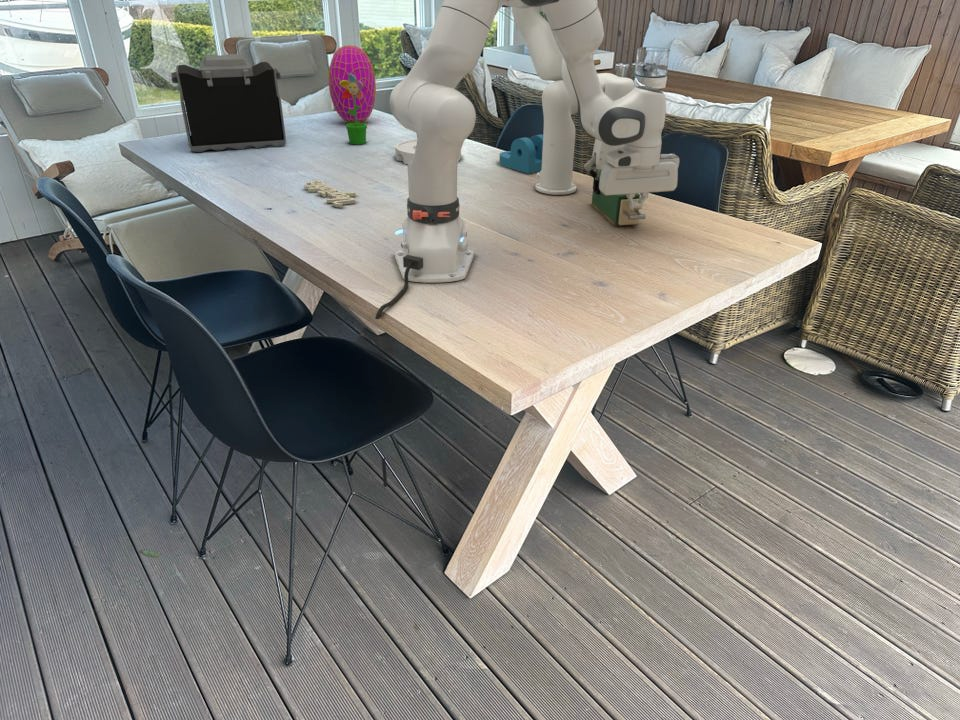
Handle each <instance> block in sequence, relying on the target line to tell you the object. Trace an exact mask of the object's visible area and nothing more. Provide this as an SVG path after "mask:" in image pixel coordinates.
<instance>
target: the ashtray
mask: <svg viewBox="0 0 960 720" xmlns="http://www.w3.org/2000/svg"><path fill="white" fill-rule="evenodd" d="M416 145H417V138H416V139H415V138H414V139H408V140H404V141H399V142H398V143H396V144H395V146H394V150H395V151H394V152H395V153H394V154H395V160H396V161H397V162H403V164H404V165H408V164H409V162H410V160H411V159H412V158H413V157H414V154H415V150H416ZM461 158H462V151H461V152H460V155H459V160H458V162H459V161H460V160H462V159H461Z"/></svg>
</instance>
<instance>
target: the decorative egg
mask: <svg viewBox="0 0 960 720" xmlns="http://www.w3.org/2000/svg"><path fill="white" fill-rule="evenodd" d="M348 73H350V74H352V75H354V76H355V78H356V83H357V82H358V81H361V82H362V84H363V89H361V90H360V91H361V92H362V93H363V98H362V100H359V99H358V98H357V97H356V95H355V103H356V106H359V109H358V110H356V116H357V123H364V122H365V121H366V120H368V118H369V117H370V116H371V114H372V112H373V111H374V106H375V103H376V102H375V101H376V96H377V95H376V94H377V83H376V82H377V81H376V75H375V71H374V68H373V63H372V62H371V60H370V57H369V56H368V54H367V53H366V51H365V50H363V48H361V47H359V46H357V45H353V44H352V45H351V44H348V45H343V46H340V47H338V48H337V49H336V51H334V53H333V56H332V57H331V61H330V63H329V69H328V90H329V96H330V99H331V103H332V105H333V108H334V110H335V111H336V113H337V114H338V116H339V118H341V119H342V120H343V121H344V122H346V123H348V124H349V123H355V115H351V114H349V112H348V111H349V110H354V100H353V95H352V96H351V97H350V98H348V99H341V97H342V94H343V93H344V91H345V90H347V89H346V88H343V87H342V86H341V85H340V84H339V83H340V82H341V81H342V80H346V81H349V78H348Z"/></svg>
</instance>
